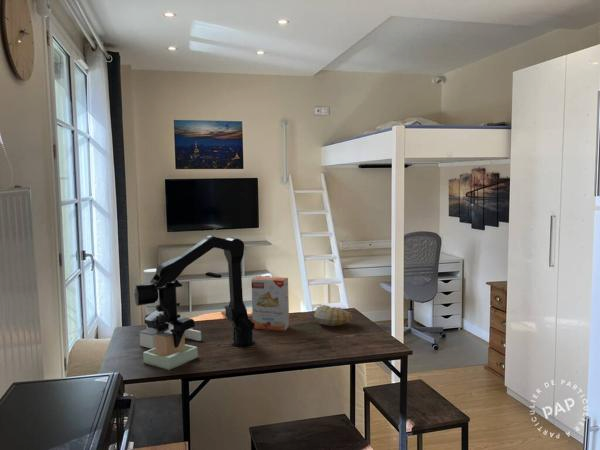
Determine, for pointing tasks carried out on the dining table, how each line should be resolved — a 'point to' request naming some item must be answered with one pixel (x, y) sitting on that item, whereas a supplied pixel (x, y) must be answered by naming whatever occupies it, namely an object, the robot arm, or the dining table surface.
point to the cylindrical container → (147, 279)
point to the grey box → (167, 342)
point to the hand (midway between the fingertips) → (170, 345)
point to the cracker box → (270, 303)
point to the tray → (170, 357)
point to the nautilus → (332, 316)
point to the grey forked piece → (149, 334)
